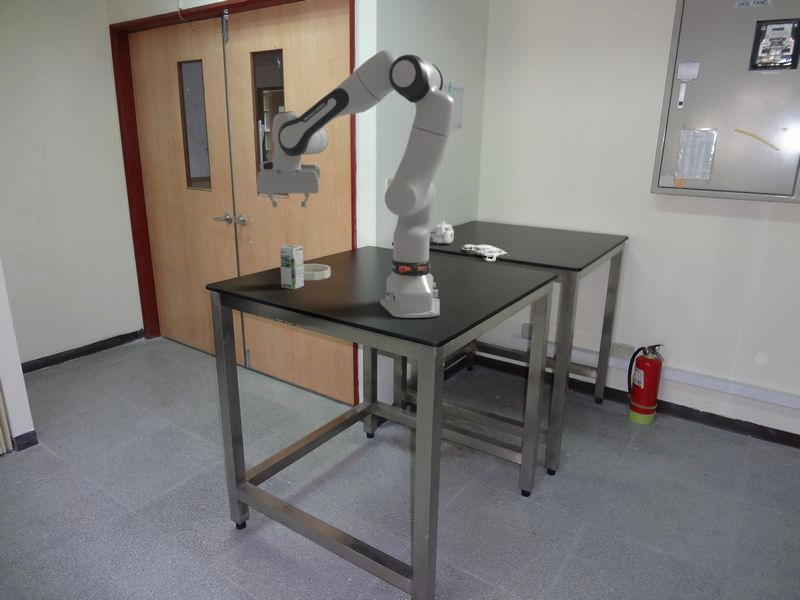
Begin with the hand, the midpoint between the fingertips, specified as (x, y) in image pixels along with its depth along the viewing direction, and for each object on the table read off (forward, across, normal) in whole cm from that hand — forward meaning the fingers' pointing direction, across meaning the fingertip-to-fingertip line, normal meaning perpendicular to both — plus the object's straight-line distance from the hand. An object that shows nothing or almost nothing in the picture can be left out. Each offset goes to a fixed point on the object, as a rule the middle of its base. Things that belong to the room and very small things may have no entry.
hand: (289, 207), depth 180 cm
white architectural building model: (+28, -86, -52) cm, 104 cm away
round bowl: (+28, -5, -16) cm, 32 cm away
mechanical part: (+28, -68, -79) cm, 108 cm away
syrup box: (+28, 0, 0) cm, 28 cm away
